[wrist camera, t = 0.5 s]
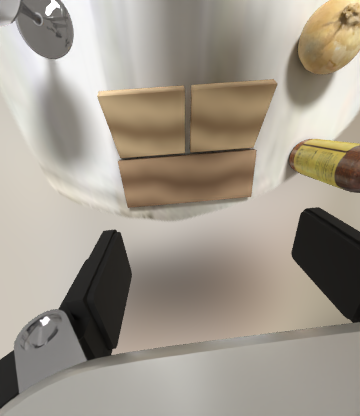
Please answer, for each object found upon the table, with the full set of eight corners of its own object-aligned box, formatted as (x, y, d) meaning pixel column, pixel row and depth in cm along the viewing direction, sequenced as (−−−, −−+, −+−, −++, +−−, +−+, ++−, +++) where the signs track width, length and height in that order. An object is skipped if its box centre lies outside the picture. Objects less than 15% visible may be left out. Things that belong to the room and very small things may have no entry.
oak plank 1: (98, 91, 24) (97, 96, 23) (183, 85, 24) (184, 90, 24) (121, 153, 32) (120, 158, 32) (184, 148, 33) (184, 153, 32)
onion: (354, 18, 26) (413, -12, 20) (325, 83, 30) (368, 75, 24) (305, 1, 25) (351, -37, 19) (280, 71, 29) (313, 58, 22)
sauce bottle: (296, 178, 37) (417, 236, 19) (281, 154, 34) (404, 195, 17) (327, 155, 35) (491, 195, 17) (313, 128, 33) (488, 144, 15)
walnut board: (119, 159, 33) (117, 161, 32) (253, 149, 34) (256, 150, 32) (129, 204, 37) (127, 207, 36) (248, 193, 38) (251, 196, 36)
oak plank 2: (191, 84, 24) (192, 89, 24) (273, 79, 25) (277, 83, 24) (189, 147, 33) (190, 152, 32) (251, 142, 33) (253, 147, 32)
